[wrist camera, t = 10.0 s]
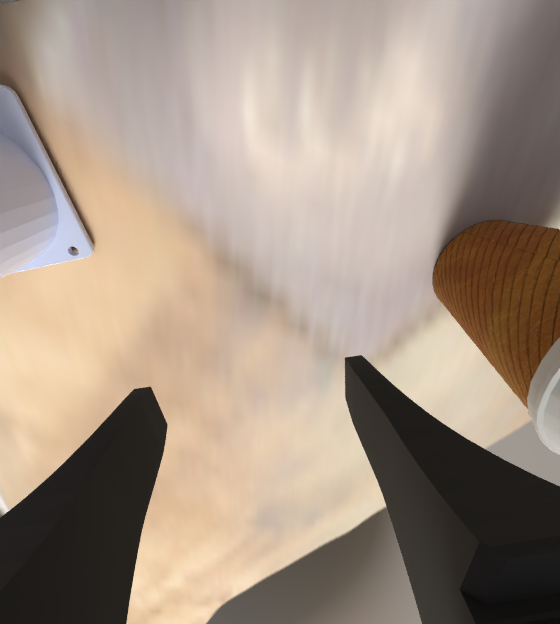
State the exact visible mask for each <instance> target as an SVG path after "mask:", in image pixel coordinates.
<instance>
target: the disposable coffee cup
mask: <svg viewBox="0 0 560 624" xmlns="http://www.w3.org/2000/svg"><path fill="white" fill-rule="evenodd" d="M433 287H434V292H435V294H436V296H437V298H438V299H439V300H440V301H441V302H442V303H443V305H444V306H445V307H446V308H447V310H448V311H449V312H450V313H451V315H452V316H453V317H454V318H455V320H456V321H457V322H458V323H459V324H460V326H461V327H462V328H463V329H464V331H465V332H466V334H467V335H468V336H469V337H470V338H471V340H472V341H473V342H474V343H475V344H476V346H477V347H478V348H479V349H480V350H481V352H482V353H483V355H484V356H485V357H486V358H487V359H488V361H489V362H490V363H491V364H492V366H493V367H494V368H495V369H496V371H497V372H498V373H499V374H500V375H501V377H502V378H503V379H504V381H505V382H506V383H507V384H508V385H509V386H510V388H511V389H512V391H513V392H514V393H515V394H516V395H517V396H518V397H519V399H520V400H521V401H522V403H523V404H524V405H525V406H526V407H527V409H528V413H529V415H530V417H531V419H532V421H533V424H534V427H535V429H536V431H537V433H538V436H539V438H540V439H541V441H542V442H543V443H544V444H545V445H546V446H547V447H548V448H549V449H550V450H551V451H553V452H555V453H557V454H559V455H560V231H559V229H555V228H549V229H548V227H541V226H539V227H538V226H534V225H527V224H521V223H520V224H519V223H514V222H508V221H502V220H493V221H486V222H482V223H479V224H476V225H474V226H472V227H470V228H468V229H466V230H465V231H463V232H462V233H460V234H459V235H458V236H457V237H456V238H455V239H453V240H452V241H451V242H450V243H449V244H448V246H447V247H446V248H445V249H444V251H443V252H442V254H441V255H440V257H439V259H438V261H437V264H436V266H435V269H434V273H433Z"/></svg>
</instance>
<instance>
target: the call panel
mask: <svg viewBox="0 0 560 624" xmlns="http://www.w3.org/2000/svg"><path fill="white" fill-rule="evenodd" d="M12 1H17V0H0V3H1V4H3V3H8V2H12Z"/></svg>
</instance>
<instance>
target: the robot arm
mask: <svg viewBox="0 0 560 624" xmlns="http://www.w3.org/2000/svg"><path fill="white" fill-rule="evenodd" d="M71 247H75V248H76V249H77V250H78V253H75V252H73V251H72V248H71ZM93 253H94V246H93V244H92V242H91V240H90V238H89V236H88V234H87V232H86V230H85V228H84V226H83V224H82V222H81V220H80V218H79V216H78V214H77V212H76V210H75V208H74V206H73V204H72V202H71V200H70V198H69V196H68V194H67V192H66V190H65V188H64V186H63V184H62V182H61V180H60V178H59V176H58V174H57V172H56V170H55V168H54V166H53V164H52V162H51V160H50V158H49V156H48V154H47V152H46V150H45V148H44V146H43V144H42V142H41V140H40V138H39V136H38V134H37V132H36V130H35V128H34V126H33V124H32V122H31V120H30V118H29V116H28V114H27V112H26V110H25V108H24V106H23V104H22V102H21V101H20V99H19V97H18V95H17V94H16V92H15V91H14V90H13V89H11V88H10V87H8V86H6V85H1V84H0V279H1V278H3V277H5V276H7V275H8V274H10V273H15V272H20V271H25V270H30V269H34V268H39V267H44V266H49V265H54V264H59V263H63V262H68V261H73V260H78V259H83V258H87V257H89V256H91V255H92V254H93ZM345 397H346V401H347V405H348V408H349V412H350V415H351V418H352V421H353V424H354V427H355V429H356V431H357V434H358V436H359V439H360V441H361V443H362V446H363V448H364V450H365V453H366V455H367V457H368V460H369V462H370V464H371V467H372V469H373V471H374V474H375V476H376V478H377V481H378V483H379V486H380V488H381V491H382V494H383V497H384V500H385V503H386V506H387V509H388V512H389V515H390V518H391V521H392V524H393V527H394V531H395V534H396V537H397V540H398V543H399V546H400V550H401V553H402V556H403V559H404V563H405V566H406V570H407V573H408V576H409V580H410V583H411V586H412V590H413V593H414V596H415V600H416V603H417V607H418V610H419V614H420V617H421V621H422V624H560V486H557V485H555V484H553V483H550V482H548V481H546V480H544V479H542V478H539V477H537V476H535V475H533V474H531V473H529V472H527V471H525V470H523V469H521V468H519V467H517V466H515V465H513V464H511V463H509V462H507V461H505V460H503V459H501V458H500V457H498V456H496V455H494V454H492V453H491V452H489V451H487V450H485V449H484V448H482V447H480V446H478V445H477V444H475V443H473V442H471V441H470V440H468V439H466V438H465V437H463V436H461V435H460V434H458V433H457V432H455V431H454V430H452V429H450V428H449V427H447V426H446V425H444V424H443V423H441V422H440V421H439V420H437V419H436V418H434V417H433V416H432V415H430V414H429V413H427V412H426V411H425V410H424V409H422V408H421V407H420V406H418V405H417V404H416V403H414V402H413V401H412V400H411V399H409V398H408V397H407V396H406V395H405V394H403V393H402V392H401V391H400V390H399V389H398V388H396V387H395V386H394V385H393V384H392V383H391V382H390V381H388V380H387V379H386V378H385V377H384V376H383V375H382V374H381V373H380V372H379V371H378V370H377V369H375V368H374V367H373V366H372V365H371V364H370V363H369V362H368V361H367V360H366V359H365V358H364V357H363V356H362V355H360V356H353V357H346V358H345ZM166 432H167V423H166V420H165V418H164V416H163V413H162V411H161V409H160V407H159V404H158V402H157V400H156V397H155V395H154V393H153V391H152V388H151V387H145V388H139V389H134V390H133V391H132V392H131V393H130V394H129V395H128V396H127V397H126V398H125V399H124V400H123V401H122V403H121V404H120V405H119V406H118V407H117V408H116V409H115V410H114V411H113V412H112V414H111V415H110V416H109V417H108V418H107V419H106V420H105V421H104V422H103V423H102V424H101V426H100V427H99V428H98V429H97V430H96V431H95V432H94V433H93V434H92V435H91V436H90V437H89V438H88V439H87V440H86V441H85V442H84V443H83V444H82V445H81V446H80V447H79V448H78V449H77V450H76V451H75V452H74V453H73V454H72V455H71V456H70V457H69V458H68V459H67V460H66V461H65V462H64V463H63V464H62V465H61V466H60V467H59V468H58V469H57V470H56V471H55V472H54V473H53V474H52V475H51V476H50V477H49V478H47V479H46V480H45V481H44V482H43V483H42V484H41V485H40V486H38V487H37V488H36V489H35V490H34V491H33V492H32V493H30V494H29V495H28V496H27V497H26V498H25V499H23V500H22V501H21V502H20V503H18V504H17V505H16V506H15V507H13V508H12V509H11V510H10V511H8V512H7V513H6V514H5V515H3V516H2V517H1V518H0V624H126V621H127V614H128V607H129V600H130V594H131V588H132V582H133V576H134V570H135V564H136V559H137V553H138V548H139V543H140V537H141V532H142V528H143V524H144V520H145V516H146V512H147V509H148V505H149V502H150V498H151V495H152V491H153V488H154V484H155V481H156V477H157V474H158V470H159V467H160V463H161V460H162V456H163V452H164V446H165V440H166Z"/></svg>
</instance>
